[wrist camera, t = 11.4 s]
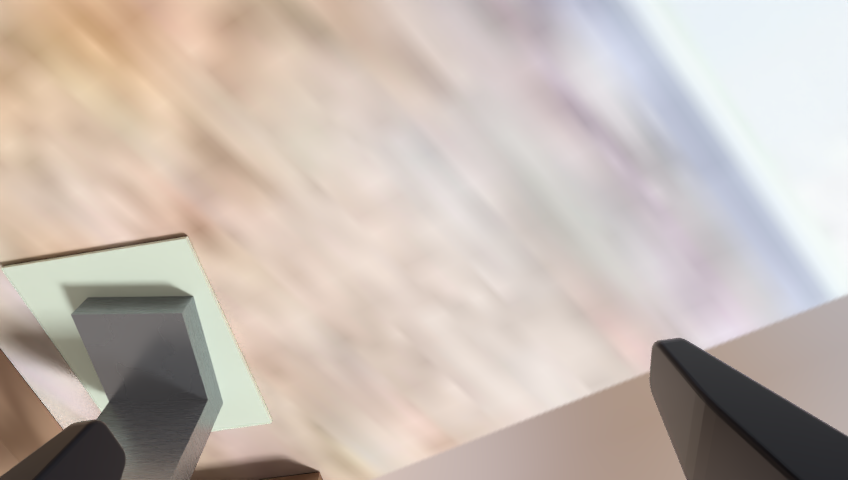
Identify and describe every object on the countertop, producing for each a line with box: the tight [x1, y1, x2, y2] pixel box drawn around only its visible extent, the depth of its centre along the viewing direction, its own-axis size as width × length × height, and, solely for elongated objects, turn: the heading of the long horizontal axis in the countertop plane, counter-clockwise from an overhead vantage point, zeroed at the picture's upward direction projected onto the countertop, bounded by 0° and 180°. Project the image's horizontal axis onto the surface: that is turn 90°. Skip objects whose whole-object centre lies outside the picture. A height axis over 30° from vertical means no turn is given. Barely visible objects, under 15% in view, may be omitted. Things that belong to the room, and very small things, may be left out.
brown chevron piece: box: [0, 349, 323, 480], centre depth 23 cm, size 20×14×2 cm
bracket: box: [71, 296, 223, 480], centre depth 20 cm, size 6×4×6 cm
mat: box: [1, 236, 272, 432], centre depth 23 cm, size 11×8×1 cm
